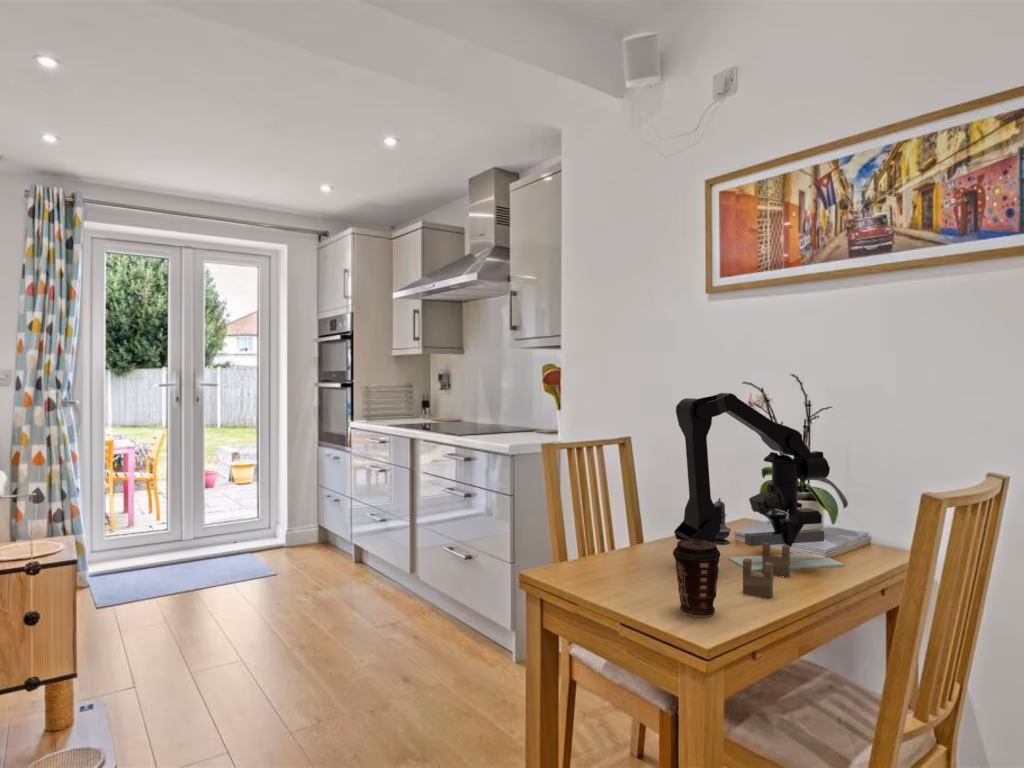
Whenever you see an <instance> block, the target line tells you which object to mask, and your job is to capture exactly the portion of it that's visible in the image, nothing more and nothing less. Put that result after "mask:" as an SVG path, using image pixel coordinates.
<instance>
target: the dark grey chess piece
mask: <svg viewBox="0 0 1024 768" xmlns="http://www.w3.org/2000/svg"><path fill="white" fill-rule="evenodd" d="M713 504H716V505H718V506H721V510H722V511H721V519H722V522H723V524H721V528H720V532H719V533H718V534H717V536H716V539H715V542H714V544H715V545H720V546H721V545H722V546H724V545H730V543H731V541H729V540H727V538H728V537H729V536H730V532H731V531H732V529H731V528H729V527H728V526H727V525H726V517H727V514H726V504H725V502H723V501H721V497H719V498H718V499H717V501H715V502H713Z"/></svg>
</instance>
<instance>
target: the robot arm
mask: <svg viewBox="0 0 1024 768" xmlns="http://www.w3.org/2000/svg"><path fill="white" fill-rule="evenodd" d="M675 406H676V407H675V414H676V418H677V419H676V420H677V422H678V423H677V424H678V426H679V428H680V430H681V432H682V434H683V436H684V440H685V452H686V454H685V455H686V469H687V481H688V493H689V494H688V496H689V497H688V500H687V503H686V506H685V507H684V515H683V520H682V521H681V522H680V524H679V525H678V526H677V528H676V529H675V530H674V531H673V533H674V536H675V538H676V540H677V541H682V540H689V539H694V540H696V539H698V540H701V541H703V540H706V541H709V542H711V543H714V542H715V539H716V536H717V534H718V533H719V532H720V528H721V524H723V522H722V519H721V511H722V510H721V506H718V505H716V504H714V502H713V500H712V494H711V482H710V481H711V480H710V466H709V465H710V464H709V451H708V441H707V440H708V434H709V432H710V429H711V427H712V423H713V422H712V421H713V418H714V417H718V416H720V415H722V414H726V415H728V416H730V417H732V418H733V419H735V420H736V421H738V422H739V423H741V424H742V425H744V426H745V427H747V428H748V429H750V430H752V431H753V432H755V433H756V434H757V435H758V436H759V437H760V439H761V441H762V442H763V443H764V444H765V445H767V447H768V448H769V449H770V450H772V451H771V452H769V454H768V455H767V456H765V457H764V458H763V461H764V462H766V463H771V483H768V484H767V486H766V490H765V491H764V492H760V493H759V492H758V494H756V495H753V496H751V497H749V498H748V500H749V504H750V506H751V507H750V508H751V509H752V511H753V512H754V513H759V514H760V515H763V516H764V517H766V519H768V520H769V521H770V523H771V525H772V528H773V532H778V531H784V532H785V543H786V544H785V545H790V548H792V546H793V544H794V543H793V542H794V540H795V539H796V537H797V535H798V533H799V532H800V530H803V527H804V525H817V524H818V525H819V524H822V523H823V515H822V513H821V512H820V511H819V510H817V509H813V508H810V507H803V503H802V502H799V491H803V486H802V485H799V480H801V481H809V480H810V481H813V480H826V478H828V477H829V474H830V470H831V468H830V465H829V462H828V459H826V457H824V452H823V451H820V450H814V451H810V450H809V447H808V446H807V445H806V443H805V442H804V440H803V435H802V433H801V432H800V431H798V430H797V429H794V428H792V427H790V426H788V425H783V424H781V423H778V422H775V421H773V420H772V419H770V418H769V417H767V416H766V415H764V414H763V413H760V411H758V410H756V409H755V408H754V407H752V406H751V405H750V404H749V405H748V404H747V403H746V402H744V401H742V400H741V399H740V398H738V396H737V395H736V394H734V393H731V392H729V393H728V392H720V393H717V394H714V395H710V396H706V397H701V398H692V397H691V398H690V397H689V398H687V397H686V398H683V399H681V400H680V401H679V402H678V403H677V404H676V405H675ZM774 451H775V452H774ZM778 452H779V453H781V454H778ZM791 456H792V457H791ZM798 479H799V480H798ZM779 545H780V546H781V545H782V544H779ZM675 567H676V568H677V566H676V565H675Z"/></svg>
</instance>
